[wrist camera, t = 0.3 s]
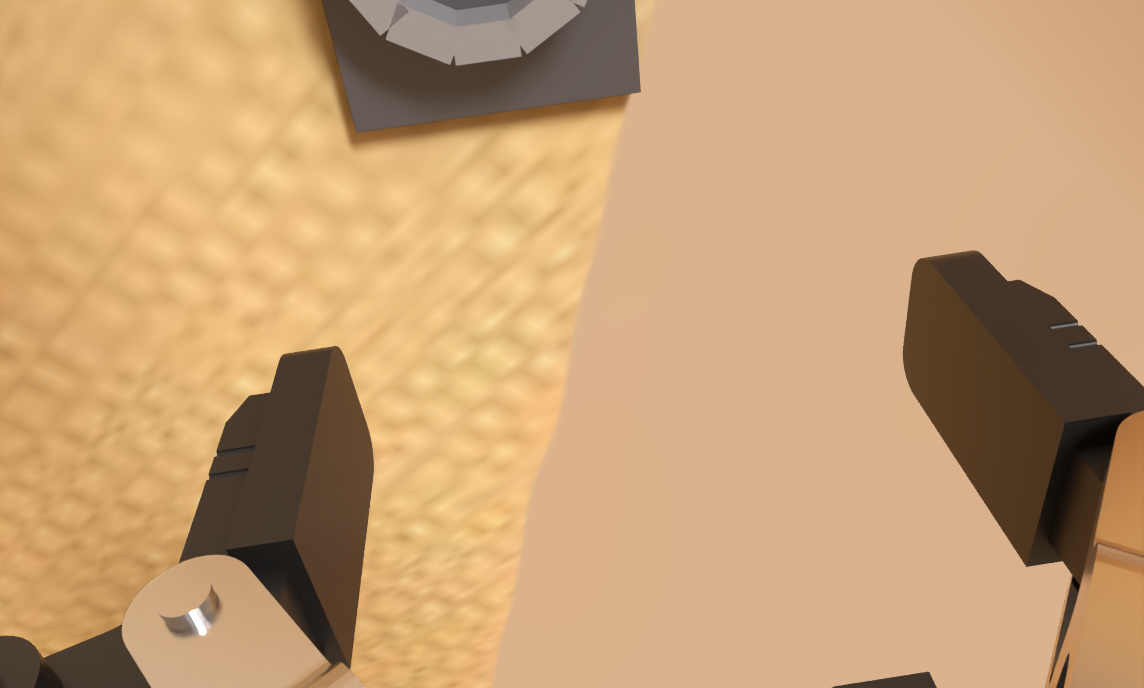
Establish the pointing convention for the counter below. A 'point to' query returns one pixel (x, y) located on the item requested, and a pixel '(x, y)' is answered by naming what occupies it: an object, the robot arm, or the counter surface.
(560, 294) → the counter surface
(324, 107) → the counter surface
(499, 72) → the plate with ring hole
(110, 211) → the counter surface
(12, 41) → the counter surface
